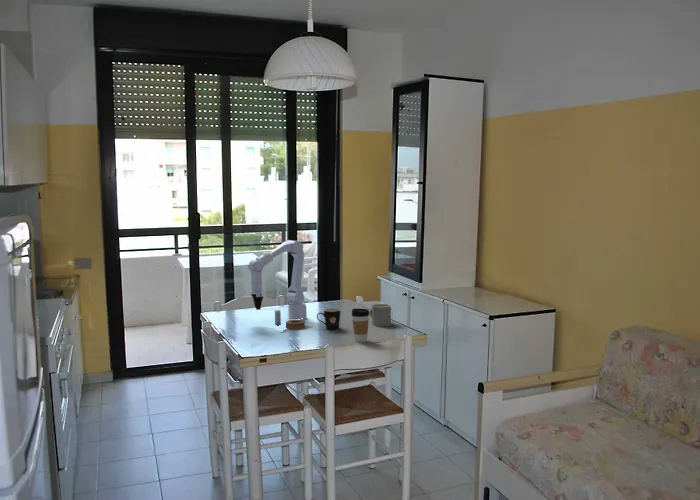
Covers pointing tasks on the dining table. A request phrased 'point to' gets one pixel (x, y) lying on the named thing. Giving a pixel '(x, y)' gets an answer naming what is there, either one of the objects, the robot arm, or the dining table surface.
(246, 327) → the dining table surface
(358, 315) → the coffee cup
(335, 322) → the coffee mug
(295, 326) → the faceted ring
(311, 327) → the mat
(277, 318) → the dowel
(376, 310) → the coffee mug
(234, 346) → the dining table surface
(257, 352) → the dining table surface
